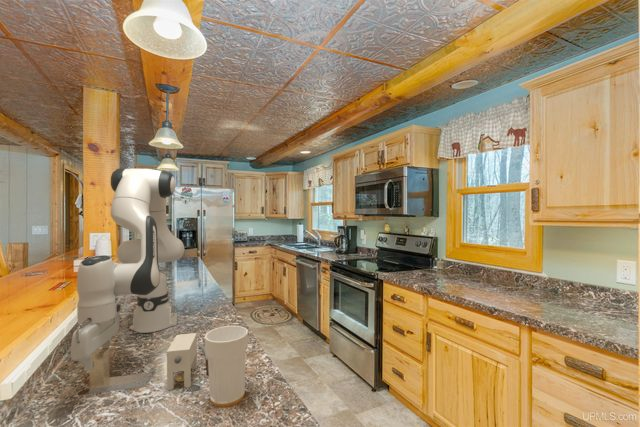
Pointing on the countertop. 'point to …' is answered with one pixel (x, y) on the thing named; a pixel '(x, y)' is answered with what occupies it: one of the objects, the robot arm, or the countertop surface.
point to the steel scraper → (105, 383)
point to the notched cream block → (182, 358)
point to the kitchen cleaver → (202, 346)
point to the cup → (226, 364)
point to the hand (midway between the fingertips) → (97, 361)
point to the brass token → (180, 377)
